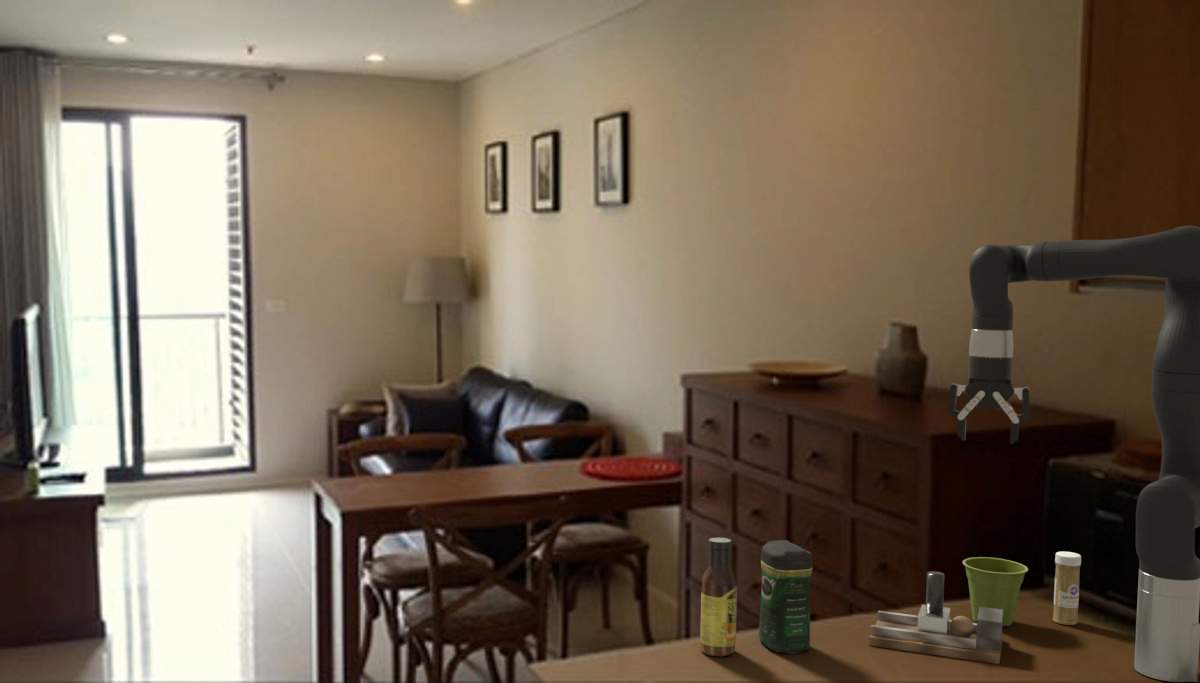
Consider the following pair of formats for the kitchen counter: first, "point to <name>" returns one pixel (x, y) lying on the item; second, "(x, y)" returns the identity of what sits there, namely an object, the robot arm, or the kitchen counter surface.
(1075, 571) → the sprinkles bottle
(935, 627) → the sliding jaw
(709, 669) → the kitchen counter surface
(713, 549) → the sauce bottle
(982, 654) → the board
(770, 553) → the coffee jar
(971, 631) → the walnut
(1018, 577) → the plant pot
